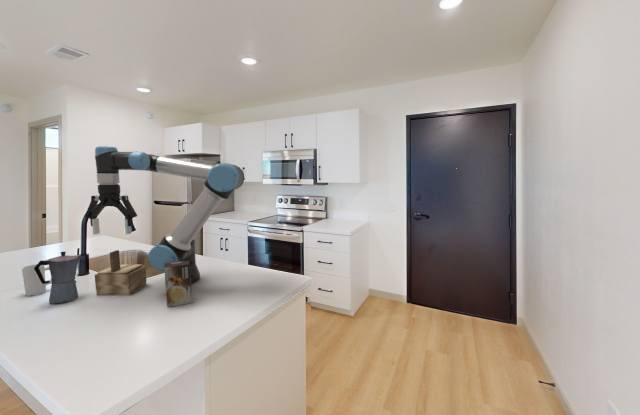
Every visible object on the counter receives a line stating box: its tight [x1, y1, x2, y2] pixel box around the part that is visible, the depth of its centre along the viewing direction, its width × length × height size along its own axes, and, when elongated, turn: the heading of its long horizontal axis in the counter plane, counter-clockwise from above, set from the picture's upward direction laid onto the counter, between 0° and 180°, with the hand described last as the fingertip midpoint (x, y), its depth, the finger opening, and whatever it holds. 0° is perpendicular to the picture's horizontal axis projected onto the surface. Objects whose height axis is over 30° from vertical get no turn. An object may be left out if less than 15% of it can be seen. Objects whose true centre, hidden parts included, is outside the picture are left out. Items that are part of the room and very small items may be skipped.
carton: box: [94, 265, 148, 296], centre depth 126 cm, size 15×12×9 cm
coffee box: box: [163, 261, 193, 308], centre depth 113 cm, size 9×6×16 cm
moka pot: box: [34, 251, 83, 304], centre depth 115 cm, size 10×15×20 cm, turn 161°
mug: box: [21, 263, 52, 297], centre depth 123 cm, size 10×7×12 cm, turn 139°
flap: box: [96, 249, 144, 274], centre depth 125 cm, size 12×11×9 cm
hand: (112, 233), depth 121 cm, fingers open, 13 cm apart
